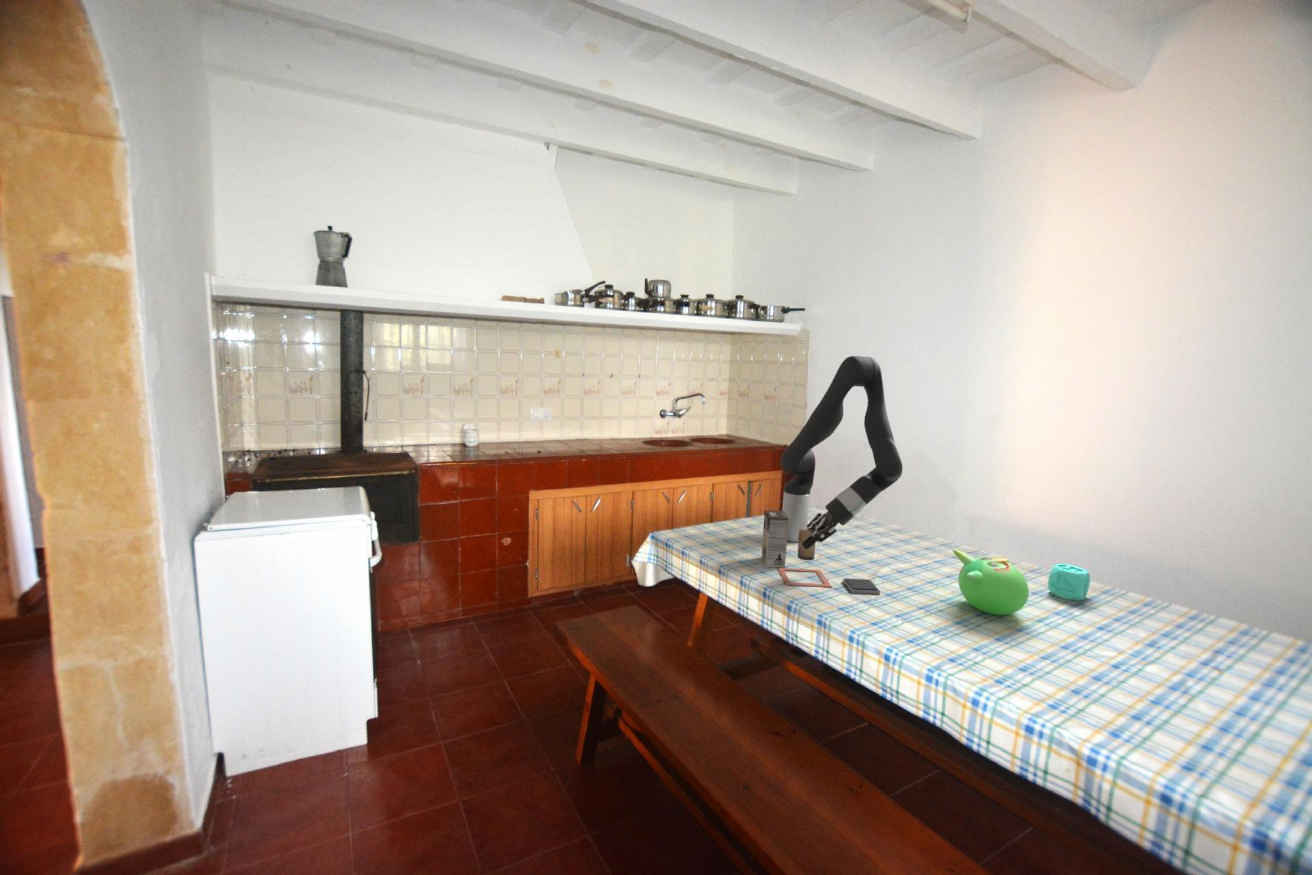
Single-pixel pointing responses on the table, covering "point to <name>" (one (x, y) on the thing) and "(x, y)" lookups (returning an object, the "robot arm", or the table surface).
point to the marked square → (787, 582)
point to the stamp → (802, 552)
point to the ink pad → (861, 586)
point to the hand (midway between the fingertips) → (802, 543)
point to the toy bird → (992, 584)
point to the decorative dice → (1069, 582)
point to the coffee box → (774, 538)
